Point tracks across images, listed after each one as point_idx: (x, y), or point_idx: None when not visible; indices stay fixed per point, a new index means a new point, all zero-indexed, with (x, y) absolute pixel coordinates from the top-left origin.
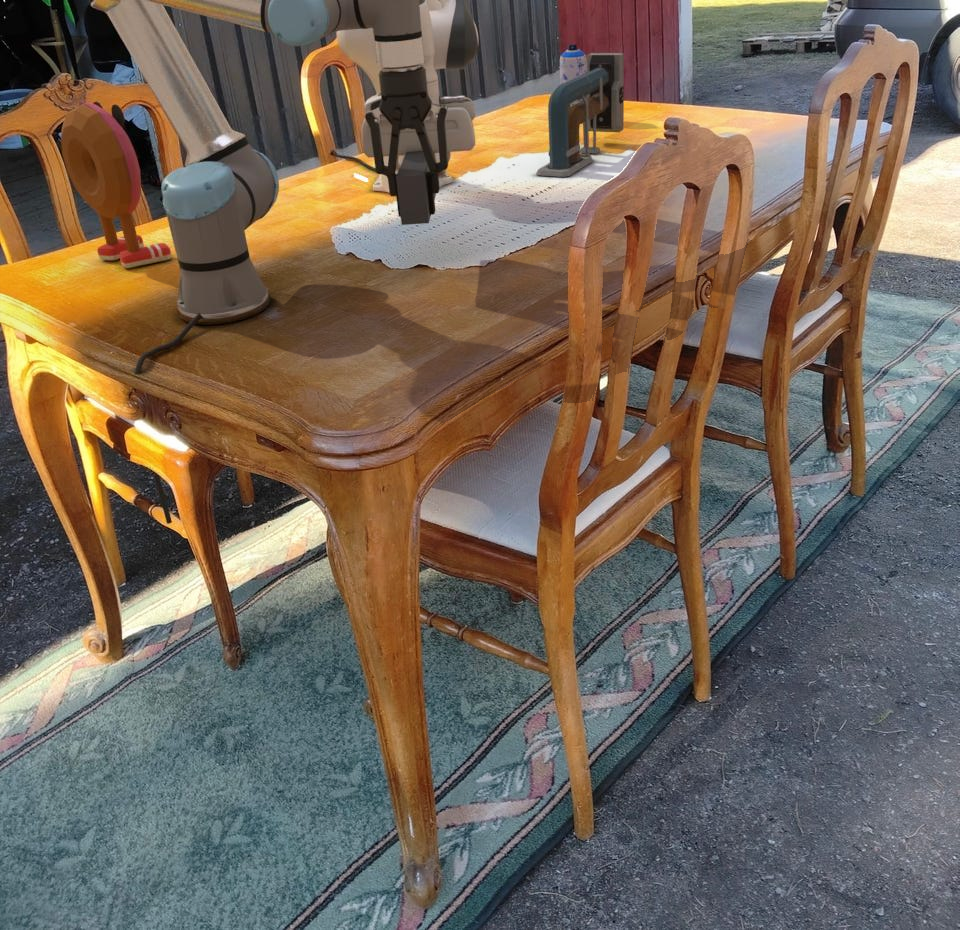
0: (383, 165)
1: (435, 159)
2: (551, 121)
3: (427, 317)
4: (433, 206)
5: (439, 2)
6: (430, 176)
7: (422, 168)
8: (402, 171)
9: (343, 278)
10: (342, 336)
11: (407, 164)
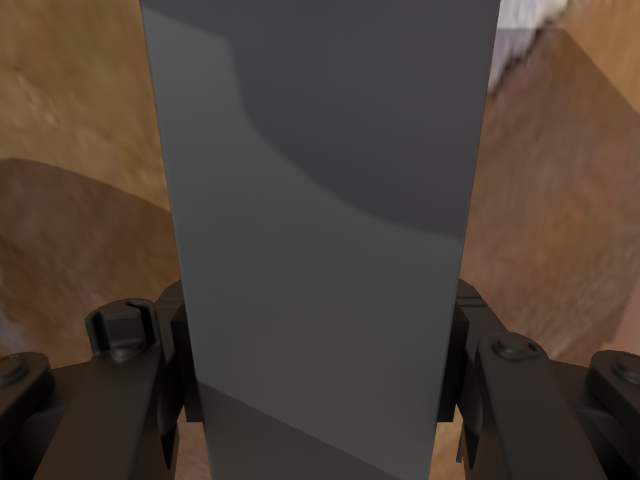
0: (35, 431)
1: (568, 412)
2: None
3: None
4: None
5: None
6: (449, 417)
7: (408, 424)
8: (245, 467)
9: (81, 123)
10: (196, 437)
11: (250, 265)
